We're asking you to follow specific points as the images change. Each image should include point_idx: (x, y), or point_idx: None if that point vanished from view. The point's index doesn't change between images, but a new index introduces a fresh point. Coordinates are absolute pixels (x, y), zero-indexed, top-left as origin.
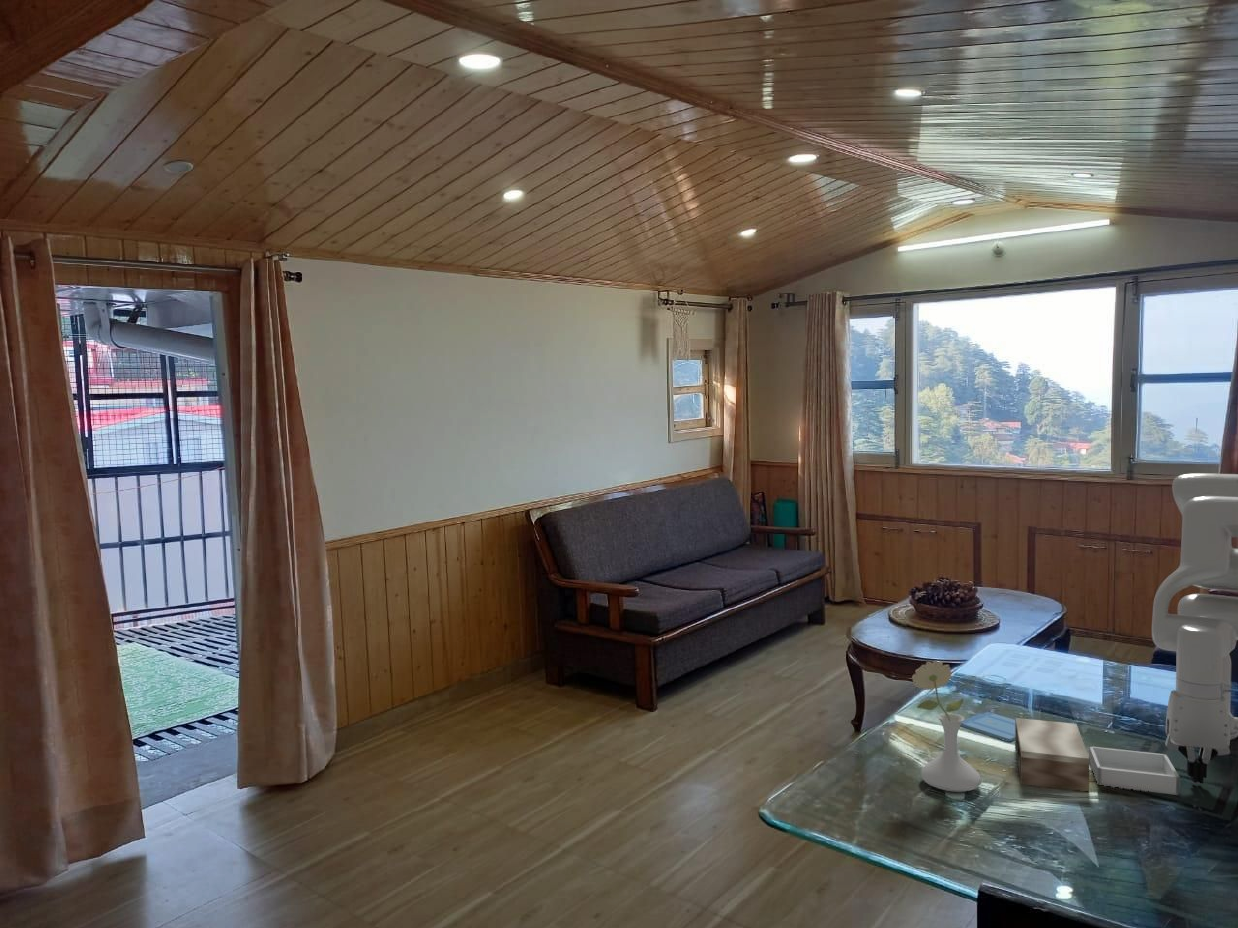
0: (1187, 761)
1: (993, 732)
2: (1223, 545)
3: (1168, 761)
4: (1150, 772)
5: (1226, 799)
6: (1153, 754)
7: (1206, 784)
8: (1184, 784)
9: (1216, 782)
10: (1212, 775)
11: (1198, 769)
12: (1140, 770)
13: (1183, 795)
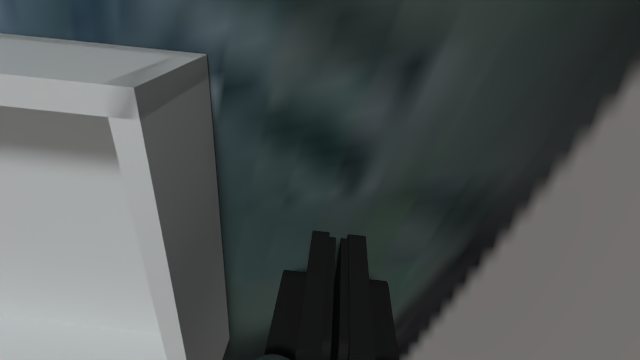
0: (266, 349)
1: None
2: None
3: (152, 253)
4: (100, 161)
5: (408, 347)
6: (18, 106)
7: (397, 222)
8: (277, 240)
9: (475, 186)
10: (526, 66)
11: (330, 357)
12: (39, 143)
13: (244, 336)
